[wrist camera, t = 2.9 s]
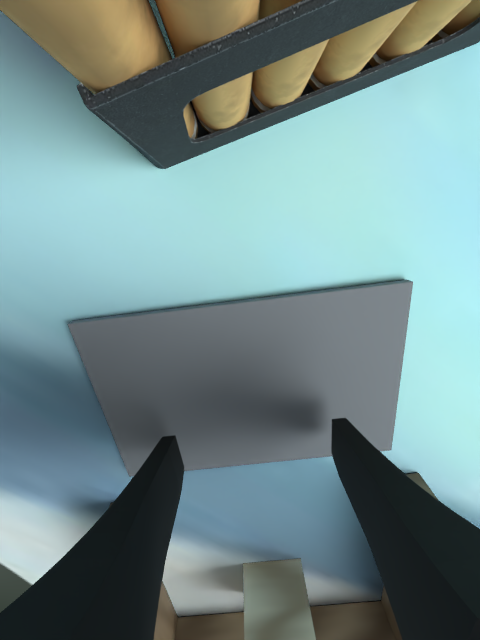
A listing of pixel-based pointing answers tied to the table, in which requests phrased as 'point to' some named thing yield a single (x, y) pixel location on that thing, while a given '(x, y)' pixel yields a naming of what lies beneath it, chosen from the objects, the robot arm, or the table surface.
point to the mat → (250, 374)
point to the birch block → (276, 601)
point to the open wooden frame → (328, 621)
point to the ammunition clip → (233, 59)
